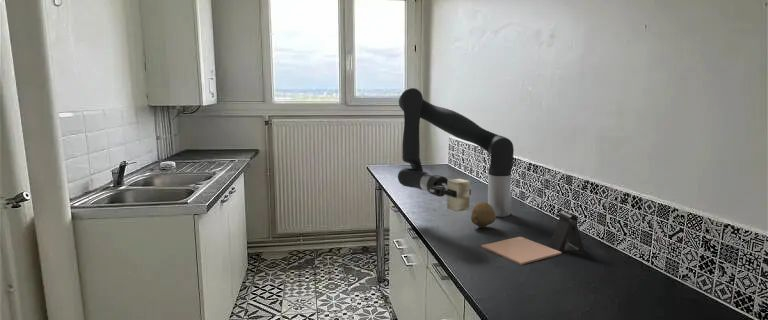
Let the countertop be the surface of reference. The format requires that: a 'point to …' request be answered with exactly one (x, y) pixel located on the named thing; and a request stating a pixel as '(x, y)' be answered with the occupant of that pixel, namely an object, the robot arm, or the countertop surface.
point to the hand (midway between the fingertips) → (463, 193)
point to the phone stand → (566, 234)
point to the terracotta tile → (521, 250)
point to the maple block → (458, 195)
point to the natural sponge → (483, 214)
